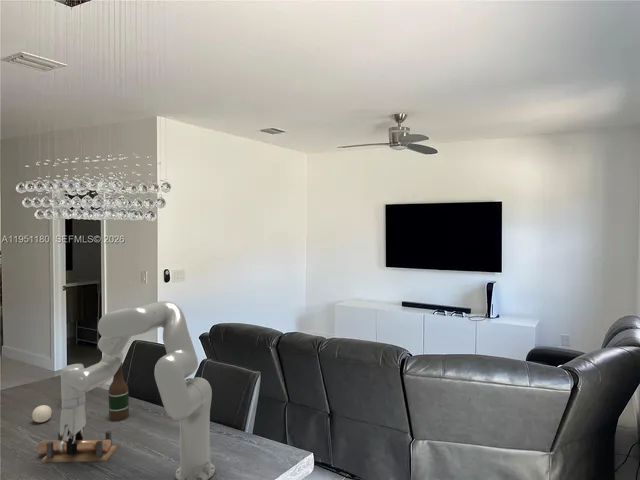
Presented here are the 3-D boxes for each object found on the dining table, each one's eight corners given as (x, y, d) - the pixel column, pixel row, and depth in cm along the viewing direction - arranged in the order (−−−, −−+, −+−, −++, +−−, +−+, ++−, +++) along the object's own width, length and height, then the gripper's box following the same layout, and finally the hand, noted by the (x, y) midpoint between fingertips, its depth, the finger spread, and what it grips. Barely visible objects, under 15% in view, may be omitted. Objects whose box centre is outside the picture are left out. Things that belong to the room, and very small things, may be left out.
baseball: (56, 417, 196) (55, 402, 196) (44, 425, 189) (43, 409, 188) (41, 417, 197) (40, 401, 196) (28, 424, 189) (28, 408, 189)
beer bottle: (104, 419, 194) (103, 363, 193) (120, 412, 201) (119, 358, 200) (117, 423, 191) (116, 365, 190) (132, 416, 198) (131, 360, 197)
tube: (111, 448, 167) (111, 437, 167) (106, 454, 163) (106, 442, 163) (44, 449, 166) (43, 438, 166) (37, 455, 162) (37, 443, 162)
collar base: (116, 448, 170) (116, 430, 169) (106, 460, 161) (105, 442, 160) (55, 449, 169) (55, 432, 169) (41, 462, 160) (41, 443, 160)
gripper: (74, 391, 172) (75, 439, 173) (49, 410, 155) (51, 463, 156) (95, 391, 172) (96, 439, 173) (72, 409, 156) (73, 462, 156)
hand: (74, 450), depth 165 cm, fingers closed on tube, 4 cm apart
